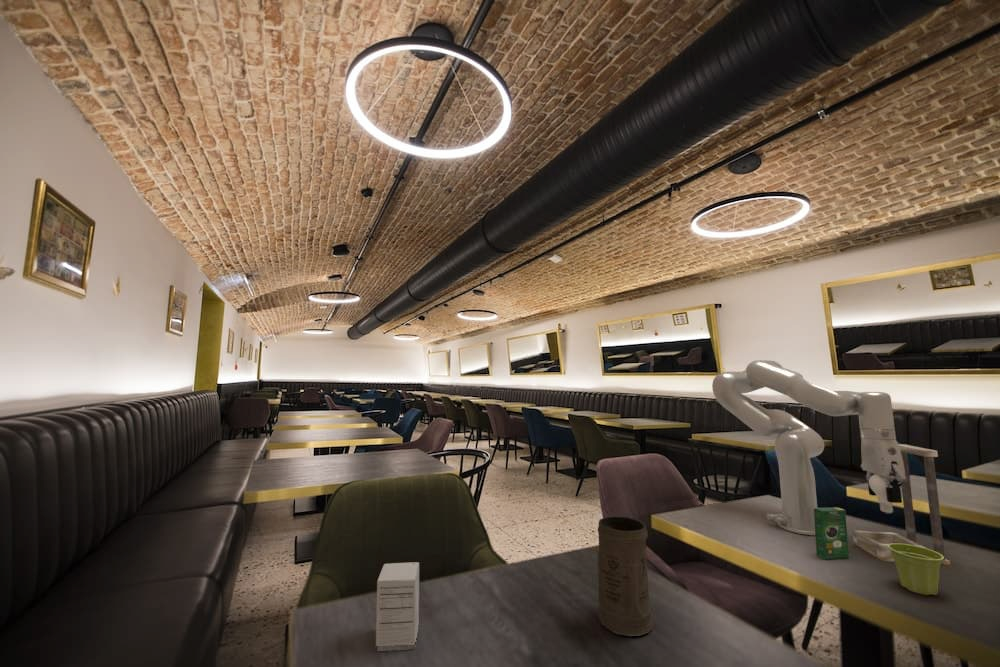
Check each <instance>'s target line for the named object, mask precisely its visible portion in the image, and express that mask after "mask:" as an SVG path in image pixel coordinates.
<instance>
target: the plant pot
mask: <svg viewBox="0 0 1000 667" xmlns="http://www.w3.org/2000/svg"><path fill="white" fill-rule="evenodd" d="M888 548H889V549H890V551H891V554H892V555H893V557H894V561H895V562H894V565H895V567H896V572H897V575H898V579H899V583H900V586H902V588H906V589H907V590H908V591H910V592H912V593H917V594H918V595H919V594H920V595H924V596H929V595H932V596H937V595H938V593H939V582H940V581H939V579H940V568H941V562H942V560H944V556H943V555H941V554H940V553H938V552H935V551H934V549H933V550H932V549H929V548H927V547H926V548H923V547H919V546H915V545H909V544H901V543H891V544H888Z"/></svg>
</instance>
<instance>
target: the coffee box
mask: <svg viewBox="0 0 1000 667" xmlns="http://www.w3.org/2000/svg"><path fill="white" fill-rule="evenodd" d="M846 514H847V513H846V509H844V508H841V507H837V506H834V507H831V506H830V507H817V508H814V522H815V535H814V536H815V551H816V557H818V558H820V559H822V560H834V559H835V560H836V559H837V560H839V559H849V558H850V554H849V543H848V542H849V541H848V529H847V528H848V526H847V517H846Z"/></svg>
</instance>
